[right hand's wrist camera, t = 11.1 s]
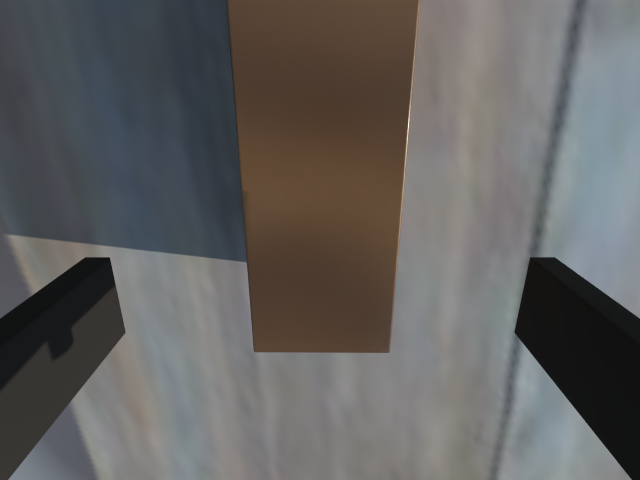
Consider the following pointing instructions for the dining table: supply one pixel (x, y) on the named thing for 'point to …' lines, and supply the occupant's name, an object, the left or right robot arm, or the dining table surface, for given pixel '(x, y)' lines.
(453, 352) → the dining table surface
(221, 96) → the dining table surface
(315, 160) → the bar
